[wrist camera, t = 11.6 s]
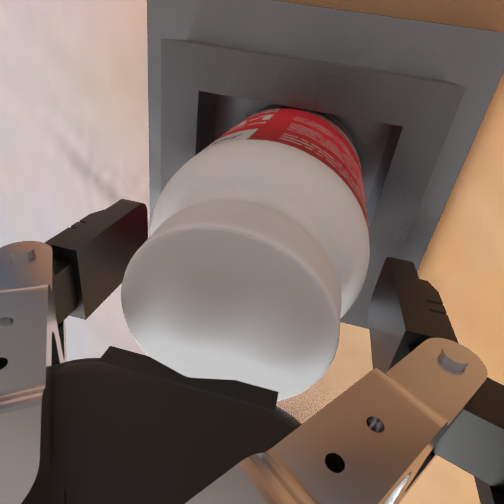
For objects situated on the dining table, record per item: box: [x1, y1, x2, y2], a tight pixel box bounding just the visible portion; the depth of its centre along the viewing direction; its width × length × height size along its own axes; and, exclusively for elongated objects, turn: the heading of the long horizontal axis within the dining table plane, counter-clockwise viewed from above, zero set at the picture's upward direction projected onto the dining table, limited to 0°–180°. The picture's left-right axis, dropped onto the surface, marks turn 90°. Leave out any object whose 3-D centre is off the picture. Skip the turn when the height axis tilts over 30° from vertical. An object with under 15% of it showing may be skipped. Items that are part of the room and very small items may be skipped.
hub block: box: [147, 0, 504, 329], centre depth 17 cm, size 14×14×4 cm
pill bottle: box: [121, 104, 370, 402], centre depth 12 cm, size 6×6×11 cm
